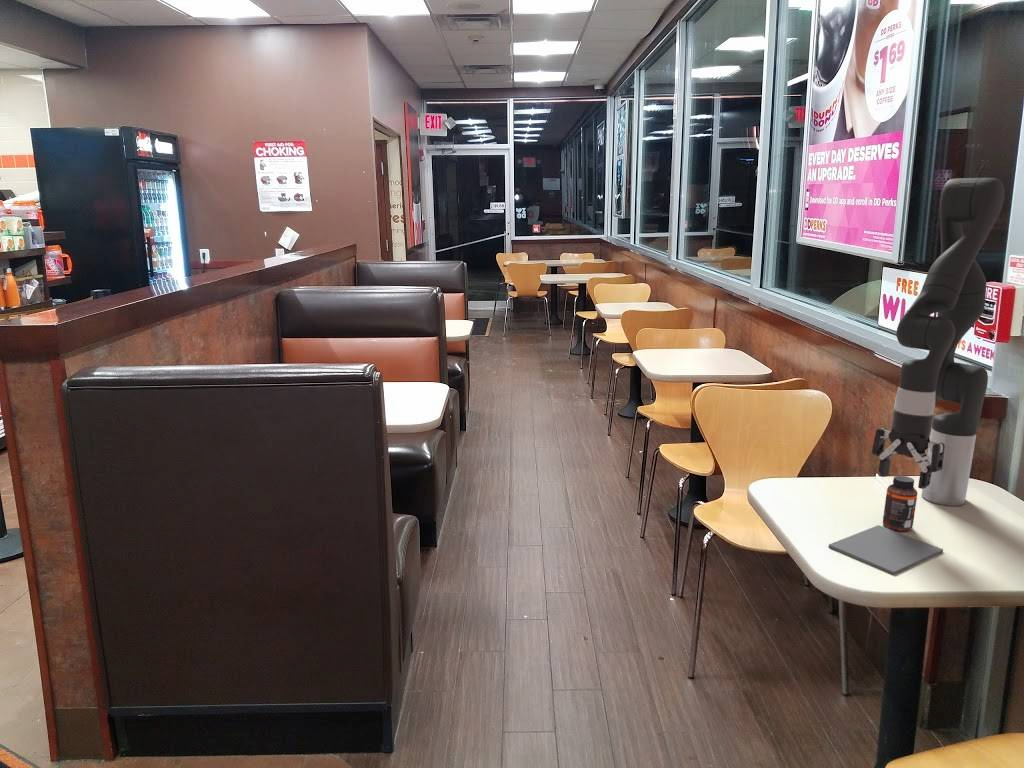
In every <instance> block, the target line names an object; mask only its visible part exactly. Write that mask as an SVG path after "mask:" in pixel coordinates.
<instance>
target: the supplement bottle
mask: <svg viewBox="0 0 1024 768" xmlns="http://www.w3.org/2000/svg"><path fill="white" fill-rule="evenodd" d="M892 480H893V481H892V484H889V486H888V487H887V488H886V493H885V502H884V510H883V517H882V524H883V526H884V527H885V528H888V529H890V530H893V531H896V532H908V531H911V530H912V529H913V526H914V520H915V512H916V506H917V501H918V491H917V490H916V488H915V487H914V485H915V480H914V478H913V477H910V476H905V475H895V476H893V479H892Z"/></svg>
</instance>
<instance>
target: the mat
mask: <svg viewBox="0 0 1024 768" xmlns="http://www.w3.org/2000/svg"><path fill="white" fill-rule="evenodd" d="M828 548H830V549H832V550H834V551H836V552H839V553H841V554H844V555H846V556H848V557H851V558H853V559H856V560H858V561H860V562H863V563H865V564H866V565H867V564H868V565H870V566H872V567H875V568H877V569H879V570H882V571H883V572H886V573H888V574H891V575H893V576H894V575H896V574H899V573H901V572H902V571H905V570H907V569H910V568H912V567H913V566H916V565H918V564H920V563H922V562H925V561H926V560H929V559H930V558H931V559H932V558H934V556H938V555H939V554H941V553H944V548H941V547H938V546H935V545H933V544H930V543H927V542H924V541H922V540H919V539H916V538H914V537H911V536H909V535H906V534H903V533H901V532H899V531H896V530H892V529H889V528H887V527H886V526H882V525H879V524H878V525H875V526H873V527H871V528H867V529H864V530H863V531H860V532H857V533H855V534H852V535H850V536H847V537H844V538H842V539H839V540H837V541H834V542H832V543H829V544H828Z"/></svg>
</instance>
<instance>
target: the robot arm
mask: <svg viewBox="0 0 1024 768" xmlns="http://www.w3.org/2000/svg"><path fill="white" fill-rule="evenodd" d="M941 190H942V191H941V194H940V200H939V224H940V225H939V226H940V227H939V228H940V255H939V256H938V257H937V258H936V260H935V261H933V263H932V265H931V266H930V268H929V269H928V271H927V273H926V277H925V279H924V282H923V285H922V288H921V289H920V293H919V294H918V296H917V297H916V298H915V300H914V301H913V303H912V304H911V306H910V307H909V309H908V310H907V311H906V312H905V313H904V315H903V316H902V317H901V319H900V321H899V323H898V324H897V328H896V334H895V335H896V339H897V342H898V343H899V344H900V345H901V346H902V347H904V348H910V349H918V350H923V351H929V352H928V354H927V355H926V357H924V358H919V359H917V358H914V359H907V360H904V361H903V363H902V364H901V368H900V375H899V381H898V388H897V391H896V394H895V398H894V399H895V400H894V403H893V404H894V406H893V413H892V420H891V425H890V426H891V427H890V428H891V430H888V428H886V427H882V428H877V429H876V430H875V435H874V439H873V443H872V445H873V446H872V450H871V454H872V455H873V456H874V455H875V456H877V457H878V458H879V465H878V467H879V468H878V473H879V476H880V477H882V478H885V477H888V476H889V474H890V468H891V467H890V466H891V459H890V458H891V457H892V456H893V455H895V454H898V455H901V456H903V455H905V456H906V457H908V458H913V459H914V460H915V462H916V464H918V466H919V467H920V470H921V471H920V474H919V478H918V485H917V487H918V489H921V497H922V498H923V499H924V500H927V501H928V502H932V503H934V504H938V505H941V506H942V505H944V506H950V507H952V506H954V507H955V506H956V507H957V506H963V505H964V504H965V503H966V499H967V498H966V497H967V492H968V486H969V480H970V475H971V469H972V463H973V457H974V456H973V455H974V451H975V444H976V440H977V439H976V438H977V431H978V427H979V424H980V419H981V417H982V411H983V410H982V409H983V405H984V401H985V397H986V393H987V389H988V383H989V381H988V380H989V375H988V374H989V373H988V371H987V370H986V369H985V367H983V366H978V365H973V364H969V363H961V362H957V361H956V362H955V353H956V349H957V347H958V345H959V343H960V341H961V340H962V339H963V337H964V336H965V335H966V334H967V333H968V331H970V329H971V328H972V327H973V326H974V325H975V324H976V323H977V322H978V320H979V319H980V317H982V314H983V313H984V311H985V307H986V295H987V278H986V276H985V274H984V272H983V270H982V268H981V267H980V265H979V264H978V262H977V261H976V258H977V255H978V254H979V252H980V250H981V248H982V247H983V245H984V243H985V242H986V240H987V238H988V236H989V234H990V232H991V231H992V229H993V227H994V225H995V223H996V222H997V219H998V218H999V215H1000V213H1001V210H1002V208H1003V205H1004V201H1005V187H1004V184H1003V181H1002V180H1001V179H999V178H996V177H966V178H965V177H962V178H961V177H959V178H958V177H957V178H950V179H949V180H947V182H945V184H944V186H943V188H942V189H941ZM963 223H971V224H970V225H969V227H968V229H967V230H966V231H965V233H964V231H963ZM935 313H937V315H936V316H934V315H933V316H932V314H935ZM936 399H938V400H941V401H946V402H950V403H955V404H960V408H959V410H958V411H955V412H949V413H939V414H937V415H935V416H934V413H935V408H936ZM887 439H889V441H890V443H891V444H890V445H889V446H888V447H886V449H885V445H886V440H887Z"/></svg>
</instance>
